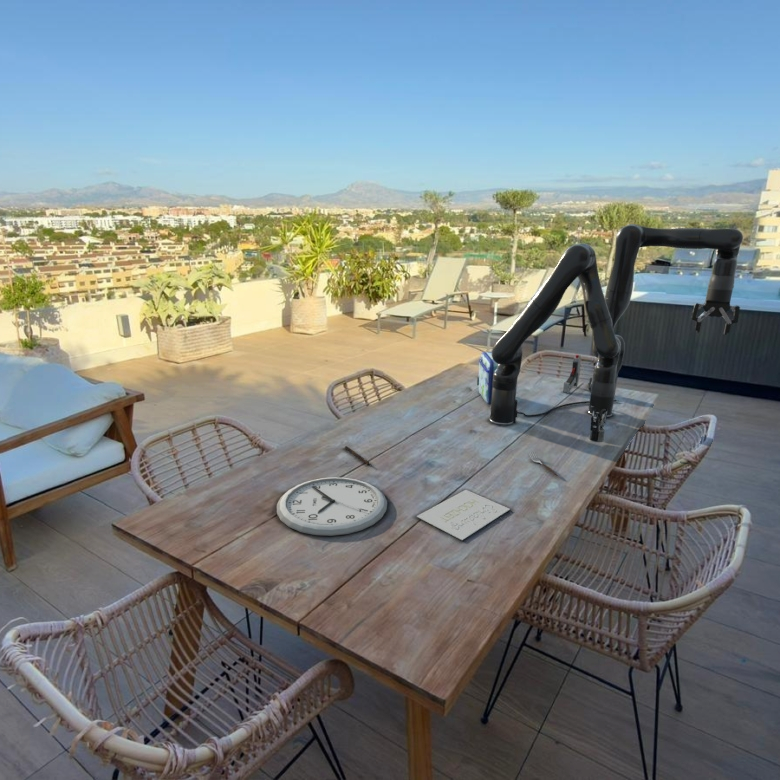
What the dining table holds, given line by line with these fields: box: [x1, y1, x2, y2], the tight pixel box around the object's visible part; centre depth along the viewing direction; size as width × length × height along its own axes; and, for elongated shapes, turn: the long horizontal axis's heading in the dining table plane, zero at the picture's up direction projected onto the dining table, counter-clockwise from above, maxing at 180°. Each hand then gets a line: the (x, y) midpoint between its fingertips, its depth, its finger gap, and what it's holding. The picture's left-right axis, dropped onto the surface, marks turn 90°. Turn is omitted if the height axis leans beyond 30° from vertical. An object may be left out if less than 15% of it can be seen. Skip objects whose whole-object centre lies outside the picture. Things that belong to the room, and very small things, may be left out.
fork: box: [528, 451, 559, 477], centre depth 167 cm, size 3×16×2 cm, turn 15°
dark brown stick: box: [344, 445, 370, 465], centre depth 173 cm, size 15×1×1 cm, turn 34°
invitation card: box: [416, 489, 511, 541], centre depth 140 cm, size 21×1×15 cm
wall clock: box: [276, 476, 388, 537], centre depth 142 cm, size 30×2×30 cm
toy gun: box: [562, 354, 582, 394], centre depth 247 cm, size 2×16×15 cm
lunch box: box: [476, 349, 498, 406], centre depth 230 cm, size 26×11×21 cm, turn 179°
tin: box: [589, 426, 606, 443], centre depth 186 cm, size 5×5×4 cm
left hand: (596, 438), depth 187 cm, fingers closed on tin, 4 cm apart
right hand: (711, 333), depth 189 cm, fingers open, 8 cm apart
